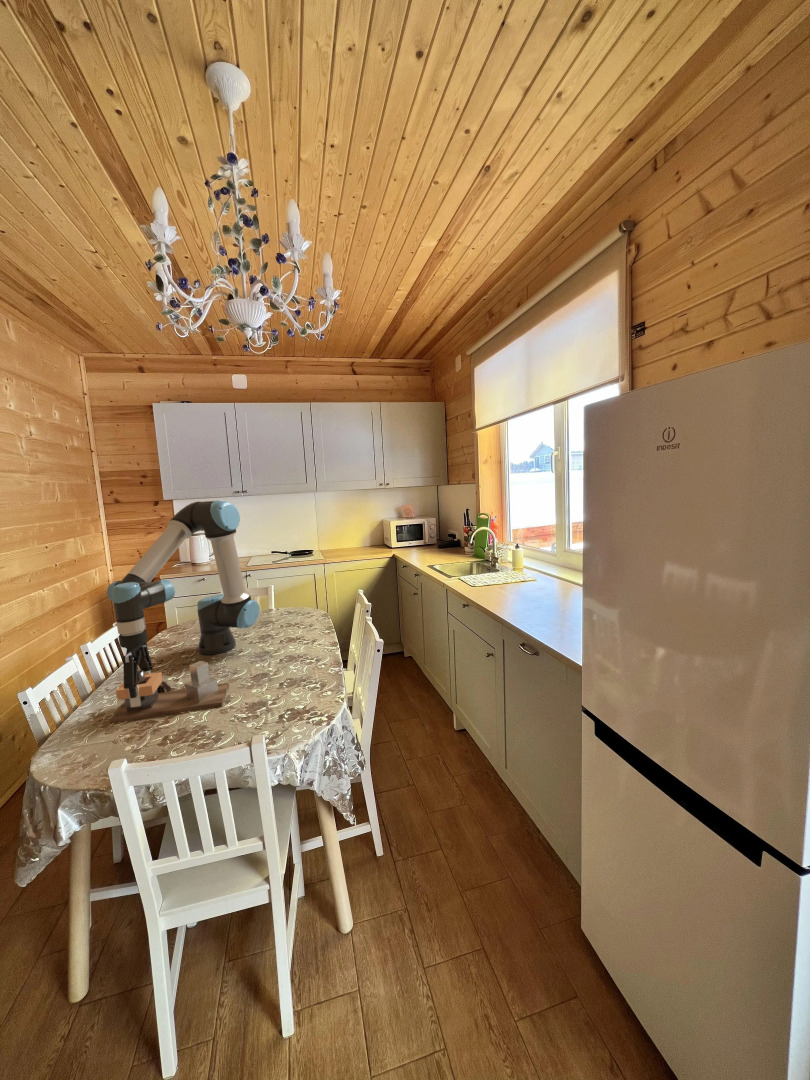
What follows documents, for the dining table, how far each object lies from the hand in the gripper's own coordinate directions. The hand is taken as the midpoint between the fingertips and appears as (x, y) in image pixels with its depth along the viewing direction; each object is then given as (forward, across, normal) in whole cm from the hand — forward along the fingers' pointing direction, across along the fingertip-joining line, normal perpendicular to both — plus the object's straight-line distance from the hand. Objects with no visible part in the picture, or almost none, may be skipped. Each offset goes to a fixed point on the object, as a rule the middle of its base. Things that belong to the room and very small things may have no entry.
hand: (142, 697), depth 142 cm
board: (+4, 0, +9) cm, 10 cm away
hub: (+2, 0, +18) cm, 18 cm away
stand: (+2, 0, 0) cm, 2 cm away
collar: (-3, 0, 0) cm, 3 cm away
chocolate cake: (+4, -13, 0) cm, 13 cm away
